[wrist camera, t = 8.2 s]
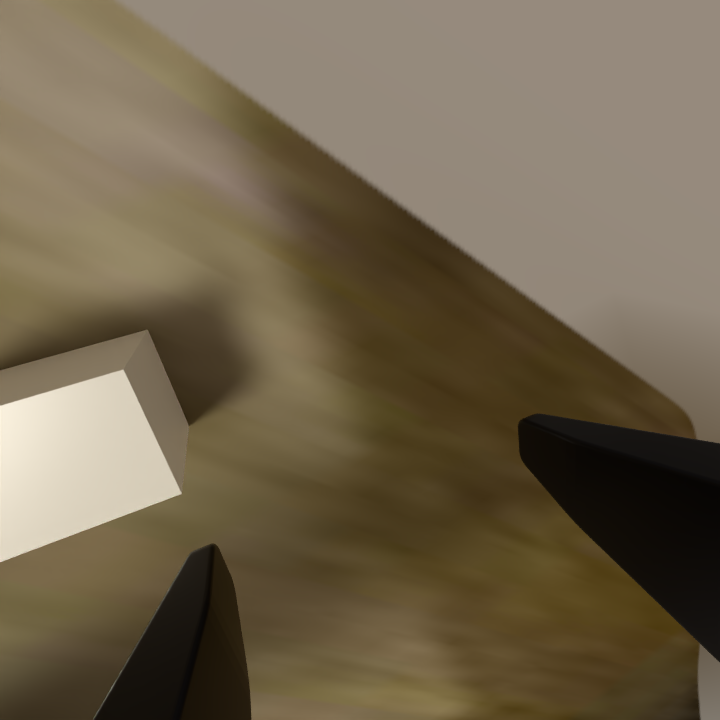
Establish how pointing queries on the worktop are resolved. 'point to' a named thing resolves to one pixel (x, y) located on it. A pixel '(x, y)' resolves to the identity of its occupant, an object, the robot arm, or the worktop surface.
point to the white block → (86, 441)
